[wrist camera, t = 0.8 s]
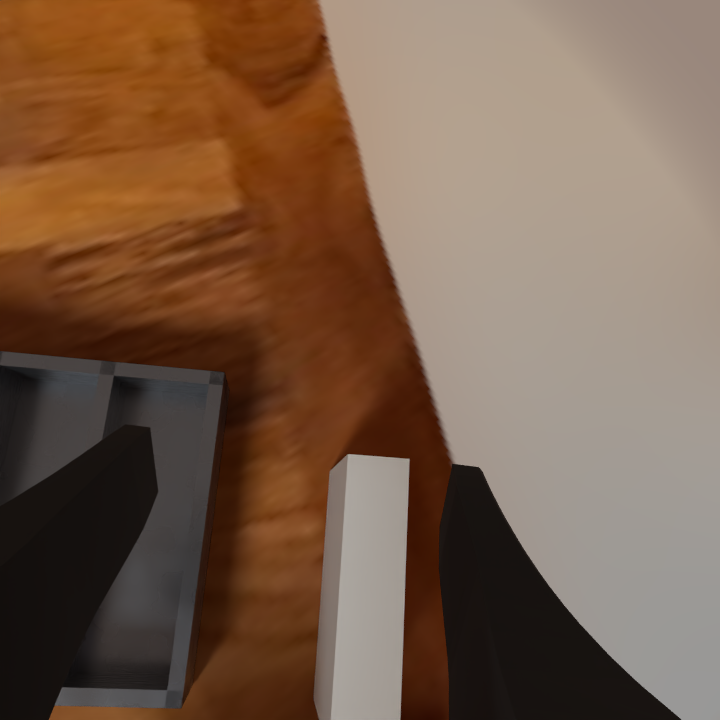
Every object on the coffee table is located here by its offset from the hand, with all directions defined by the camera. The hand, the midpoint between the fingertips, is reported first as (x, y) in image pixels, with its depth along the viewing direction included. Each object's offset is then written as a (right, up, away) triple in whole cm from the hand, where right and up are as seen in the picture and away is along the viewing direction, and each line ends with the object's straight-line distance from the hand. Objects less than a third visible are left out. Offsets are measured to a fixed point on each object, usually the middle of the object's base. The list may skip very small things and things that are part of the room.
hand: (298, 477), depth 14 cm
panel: (+1, -8, +14) cm, 16 cm away
